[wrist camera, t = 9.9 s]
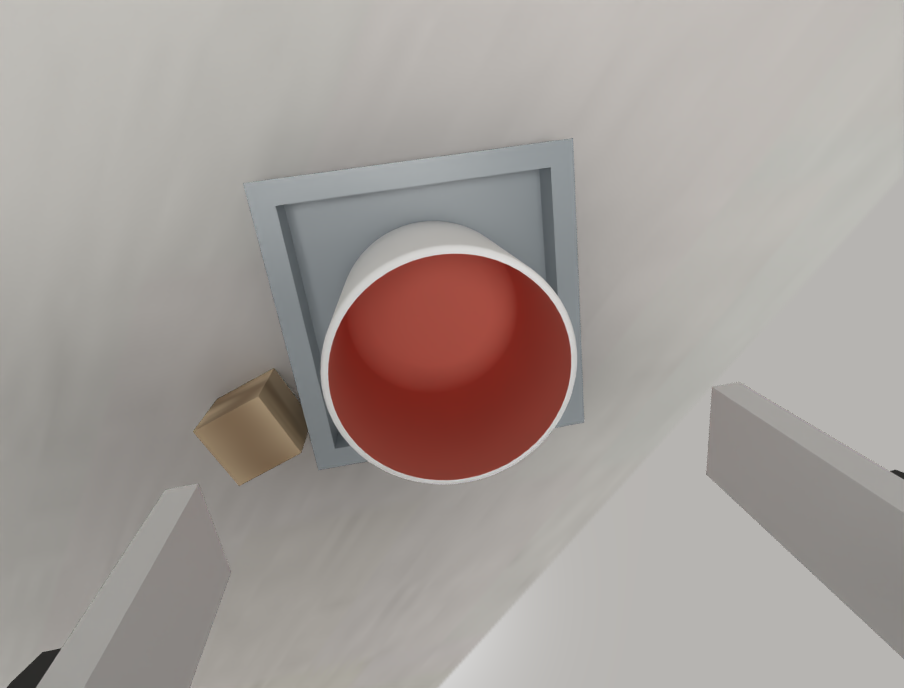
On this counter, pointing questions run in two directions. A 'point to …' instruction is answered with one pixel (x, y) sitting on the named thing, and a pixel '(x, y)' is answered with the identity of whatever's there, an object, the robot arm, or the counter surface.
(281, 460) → the oak block
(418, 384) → the cup
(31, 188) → the counter surface
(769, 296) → the counter surface
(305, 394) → the tray
